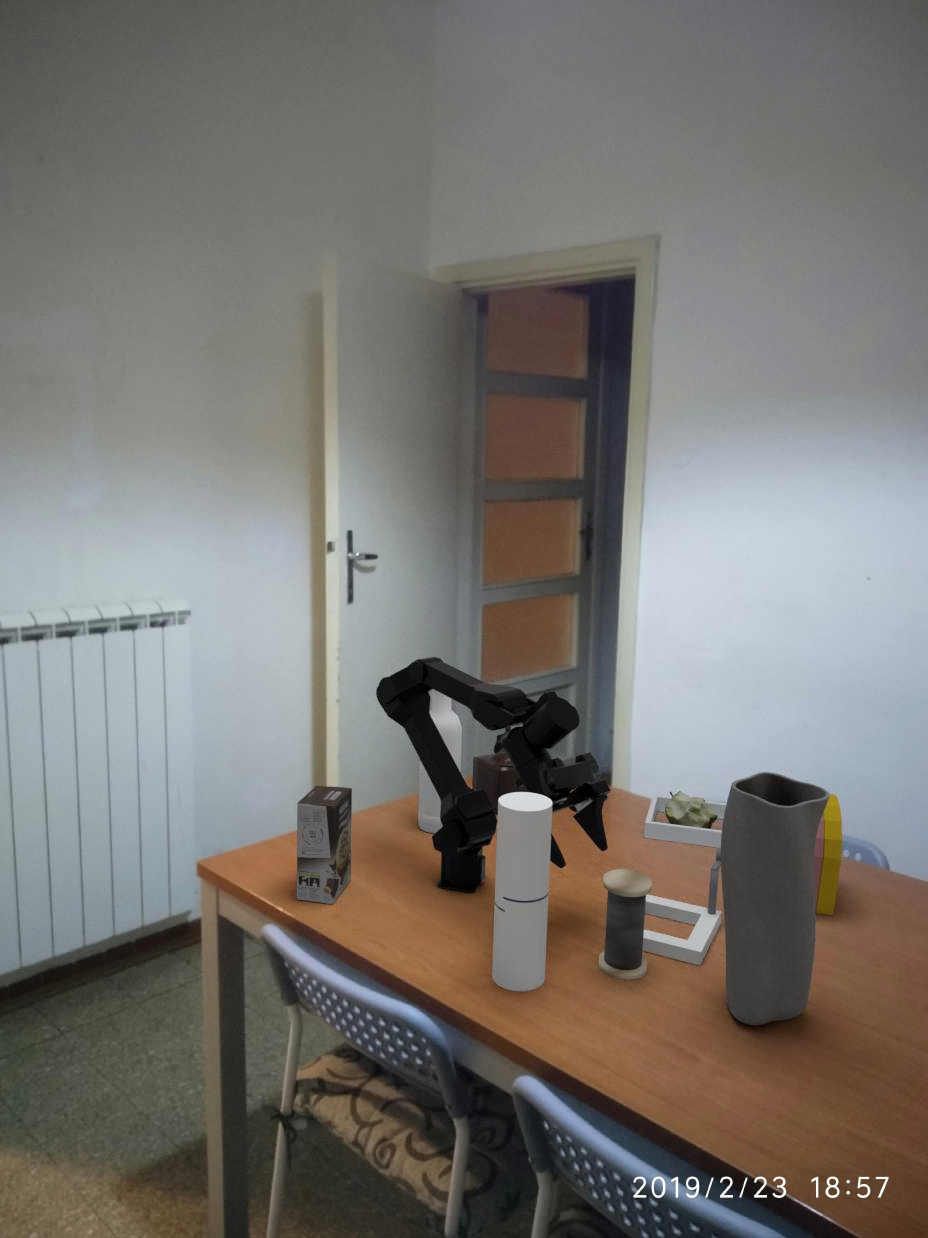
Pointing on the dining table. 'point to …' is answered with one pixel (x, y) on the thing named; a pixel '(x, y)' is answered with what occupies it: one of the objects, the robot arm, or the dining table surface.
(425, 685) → the robot arm
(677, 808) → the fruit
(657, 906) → the rectangular frame
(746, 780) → the vase
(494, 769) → the coffee grinder
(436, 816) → the bottle
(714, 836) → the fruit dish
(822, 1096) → the dining table surface
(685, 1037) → the dining table surface
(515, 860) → the cylindrical container
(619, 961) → the disc
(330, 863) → the coffee box
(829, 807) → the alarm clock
